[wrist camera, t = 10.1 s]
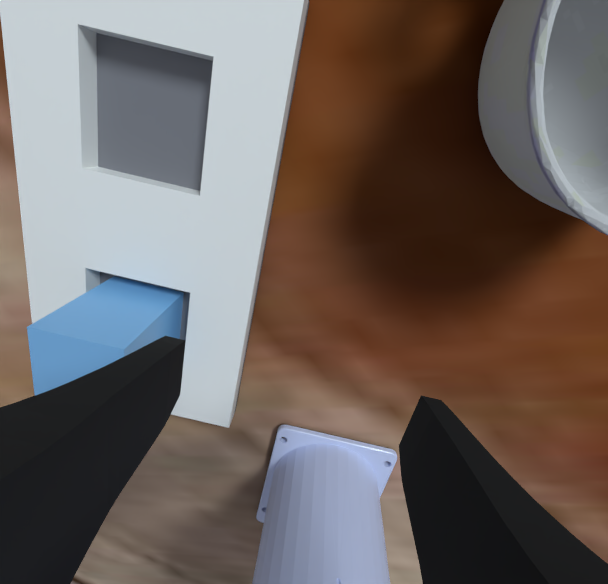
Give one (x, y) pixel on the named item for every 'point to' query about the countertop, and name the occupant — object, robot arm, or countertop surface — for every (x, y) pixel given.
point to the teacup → (550, 102)
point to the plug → (100, 329)
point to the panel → (154, 159)
